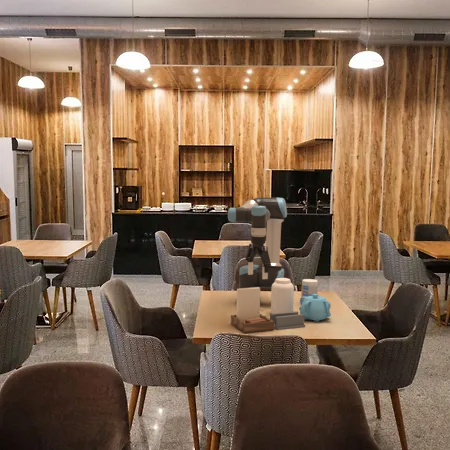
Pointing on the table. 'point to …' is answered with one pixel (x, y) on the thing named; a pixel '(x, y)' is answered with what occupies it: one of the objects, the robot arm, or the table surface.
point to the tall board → (248, 303)
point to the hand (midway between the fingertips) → (257, 276)
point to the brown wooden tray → (253, 325)
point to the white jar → (282, 296)
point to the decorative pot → (315, 307)
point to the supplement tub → (309, 287)
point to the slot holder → (287, 320)
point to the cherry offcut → (255, 320)
